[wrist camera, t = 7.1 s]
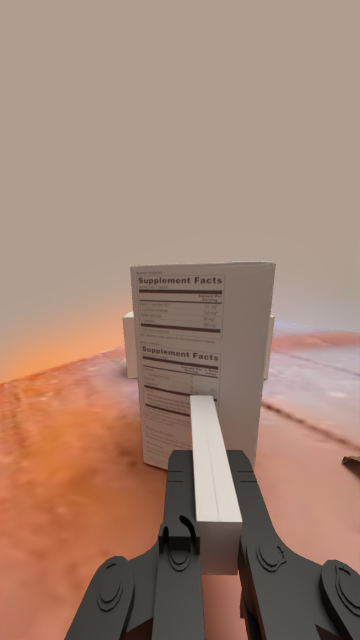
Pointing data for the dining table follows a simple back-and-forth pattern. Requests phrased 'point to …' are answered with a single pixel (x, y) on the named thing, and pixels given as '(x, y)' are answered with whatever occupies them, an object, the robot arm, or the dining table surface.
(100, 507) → the dining table surface
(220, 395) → the supplement box
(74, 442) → the dining table surface
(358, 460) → the brown bark piece
